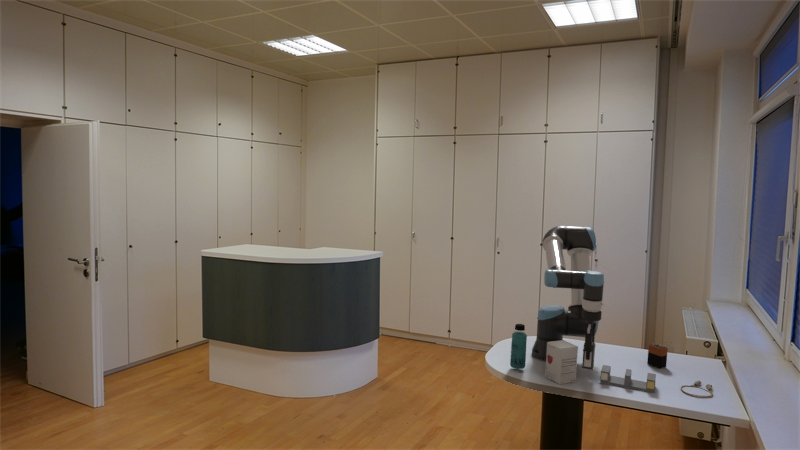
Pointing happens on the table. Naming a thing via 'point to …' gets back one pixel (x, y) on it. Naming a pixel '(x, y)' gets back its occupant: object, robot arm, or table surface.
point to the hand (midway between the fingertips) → (588, 364)
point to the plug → (591, 359)
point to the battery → (657, 355)
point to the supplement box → (561, 361)
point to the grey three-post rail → (628, 380)
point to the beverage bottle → (518, 347)
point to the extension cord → (700, 388)
